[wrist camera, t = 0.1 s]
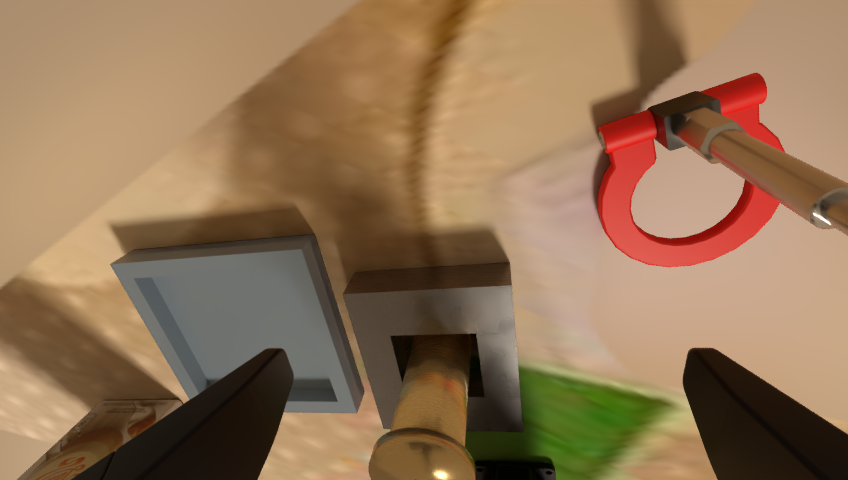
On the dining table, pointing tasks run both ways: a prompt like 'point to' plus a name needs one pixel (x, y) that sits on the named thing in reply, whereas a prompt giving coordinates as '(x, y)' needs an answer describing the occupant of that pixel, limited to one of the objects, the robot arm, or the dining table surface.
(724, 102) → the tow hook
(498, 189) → the dining table surface
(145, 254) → the tray
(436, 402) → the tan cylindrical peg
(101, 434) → the coffee box
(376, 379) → the block
